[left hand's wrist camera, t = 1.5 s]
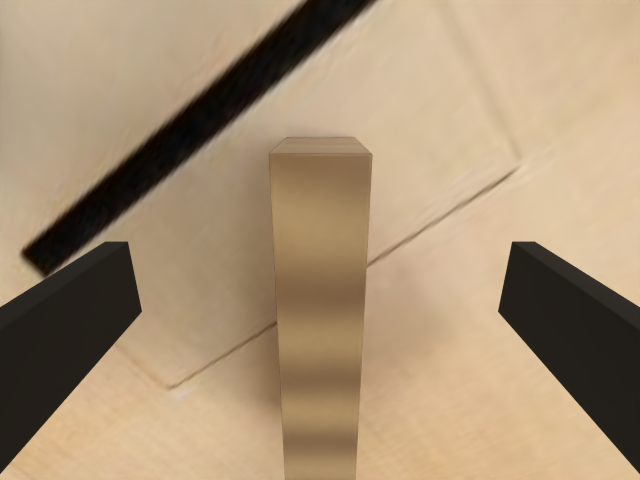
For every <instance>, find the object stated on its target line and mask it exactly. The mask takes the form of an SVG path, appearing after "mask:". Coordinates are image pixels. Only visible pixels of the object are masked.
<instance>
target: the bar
mask: <svg viewBox="0 0 640 480" xmlns="http://www.w3.org/2000/svg"><path fill="white" fill-rule="evenodd" d="M269 165H270V186H271V206H272V226H273V246H274V267H275V287H276V307H277V327H278V348H279V368H280V388H281V408H282V429H283V449H284V469H285V480H355V477H356V458H357V439H358V420H359V401H360V382H361V363H362V344H363V325H364V306H365V287H366V268H367V249H368V230H369V210H370V191H371V172H372V153H370V152H369V151H368V150H367V149H366V148H365V147H364V146H363V145H362V144H361V143H360V142H359V141H358V140H357V139H356V138H354V137H287V138H285V139H284V140H283V141H282V142H281V143H280V144H279V145H278V146H277V147H276V148H275V149H274V150H273V151H272V152H271V153H270V154H269Z"/></svg>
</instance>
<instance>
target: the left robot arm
mask: <svg viewBox="0 0 640 480" xmlns="http://www.w3.org/2000/svg"><path fill="white" fill-rule="evenodd" d="M141 312H142V310H141V305H140V300H139V295H138V290H137V285H136V280H135V275H134V270H133V265H132V260H131V255H130V250H129V245H128V242H104V243H102V244H101V245H99V246H98V247H96V248H94V249H93V250H91V251H90V252H88V253H86V254H85V255H83V256H82V257H80V258H78V259H77V260H75V261H74V262H72V263H70V264H69V265H67V266H66V267H64V268H62V269H61V270H59V271H58V272H56V273H54V274H53V275H51V276H50V277H48V278H46V279H45V280H43V281H42V282H40V283H38V284H37V285H35V286H34V287H32V288H30V289H29V290H27V291H25V292H24V293H22V294H21V295H19V296H17V297H16V298H14V299H13V300H11V301H9V302H8V303H6V304H5V305H3V306H1V307H0V474H1V473H2V471H3V470H4V469H5V468H6V467H7V466H8V465H9V463H10V462H11V461H12V460H13V459H14V458H15V456H16V455H17V454H18V453H19V452H20V451H21V450H22V448H23V447H24V446H25V445H26V444H27V443H28V442H29V440H30V439H31V438H32V437H33V436H34V435H35V434H36V432H37V431H38V430H39V429H40V428H41V427H42V426H43V424H44V423H45V422H46V421H47V420H48V419H49V418H50V416H51V415H52V414H53V413H54V412H55V411H56V410H57V408H58V407H59V406H60V405H61V404H62V403H63V401H64V400H65V399H66V398H67V397H68V396H69V395H70V393H71V392H72V391H73V390H74V389H75V388H76V387H77V385H78V384H79V383H80V382H81V381H82V380H83V379H84V377H85V376H86V375H87V374H88V373H89V372H90V371H91V369H92V368H93V367H94V366H95V365H96V364H97V363H98V361H99V360H100V359H101V358H102V357H103V356H104V354H105V353H106V352H107V351H108V350H109V349H110V348H111V346H112V345H113V344H114V343H115V342H116V341H117V340H118V338H119V337H120V336H121V335H122V334H123V333H124V332H125V330H126V329H127V328H128V327H129V326H130V325H131V324H132V322H133V321H134V320H135V319H136V318H137V317H138V316H139V314H140V313H141ZM498 312H499V313H500V314H501V316H502V317H503V318H504V319H505V320H506V321H507V322H508V324H509V325H510V326H511V327H512V328H513V329H514V330H515V332H516V333H517V334H518V335H519V336H520V337H521V338H522V340H523V341H524V342H525V343H526V344H527V345H528V346H529V348H530V349H531V350H532V351H533V352H534V353H535V354H536V356H537V357H538V358H539V359H540V360H541V361H542V363H543V364H544V365H545V366H546V367H547V368H548V369H549V371H550V372H551V373H552V374H553V375H554V376H555V377H556V379H557V380H558V381H559V382H560V383H561V384H562V385H563V387H564V388H565V389H566V390H567V391H568V392H569V393H570V395H571V396H572V397H573V398H574V399H575V400H576V401H577V403H578V404H579V405H580V406H581V407H582V408H583V410H584V411H585V412H586V413H587V414H588V415H589V416H590V418H591V419H592V420H593V421H594V422H595V423H596V424H597V426H598V427H599V428H600V429H601V430H602V431H603V432H604V434H605V435H606V436H607V437H608V438H609V439H610V440H611V442H612V443H613V444H614V445H615V446H616V447H617V448H618V450H619V451H620V452H621V453H622V454H623V455H624V456H625V458H626V459H627V460H628V461H629V462H630V463H631V465H632V466H633V467H634V468H635V469H636V470H637V471H638V473H639V474H640V307H639V306H637V305H635V304H634V303H632V302H631V301H629V300H627V299H626V298H624V297H623V296H621V295H619V294H618V293H616V292H614V291H613V290H611V289H610V288H608V287H606V286H605V285H603V284H602V283H600V282H598V281H597V280H595V279H594V278H592V277H590V276H589V275H587V274H586V273H584V272H582V271H581V270H579V269H578V268H576V267H574V266H573V265H571V264H570V263H568V262H566V261H565V260H563V259H562V258H560V257H558V256H557V255H555V254H554V253H552V252H550V251H549V250H547V249H546V248H544V247H542V246H541V245H539V244H538V243H536V242H512V245H511V250H510V255H509V260H508V265H507V270H506V275H505V280H504V285H503V290H502V295H501V300H500V305H499V310H498Z"/></svg>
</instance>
